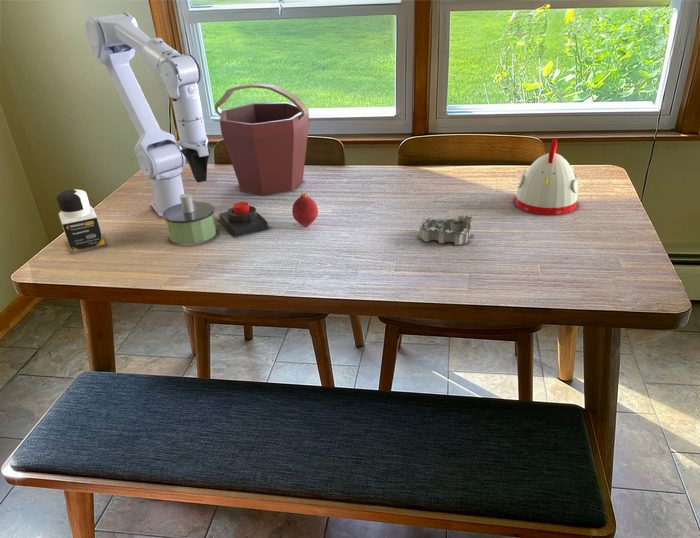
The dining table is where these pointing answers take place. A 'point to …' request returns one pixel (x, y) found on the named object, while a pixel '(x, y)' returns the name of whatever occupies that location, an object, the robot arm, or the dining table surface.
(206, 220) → the pot
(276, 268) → the dining table surface
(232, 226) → the button housing
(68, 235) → the medicine bottle
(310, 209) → the onion
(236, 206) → the button
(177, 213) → the lid
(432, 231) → the egg carton
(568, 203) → the kitchen timer
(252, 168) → the bucket
